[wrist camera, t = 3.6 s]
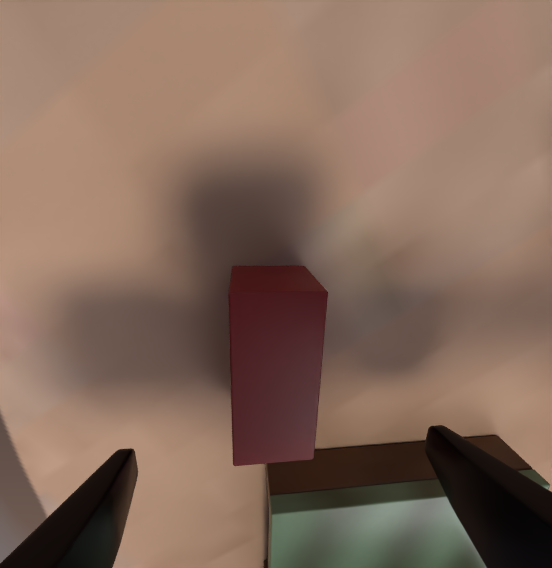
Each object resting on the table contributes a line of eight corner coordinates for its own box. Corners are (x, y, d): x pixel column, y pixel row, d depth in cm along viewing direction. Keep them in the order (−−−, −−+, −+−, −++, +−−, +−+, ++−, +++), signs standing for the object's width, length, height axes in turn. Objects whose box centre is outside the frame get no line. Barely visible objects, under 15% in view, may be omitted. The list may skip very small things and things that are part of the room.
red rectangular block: (305, 265, 14) (328, 291, 10) (297, 398, 16) (314, 459, 12) (232, 265, 13) (227, 292, 10) (235, 402, 16) (233, 467, 12)
